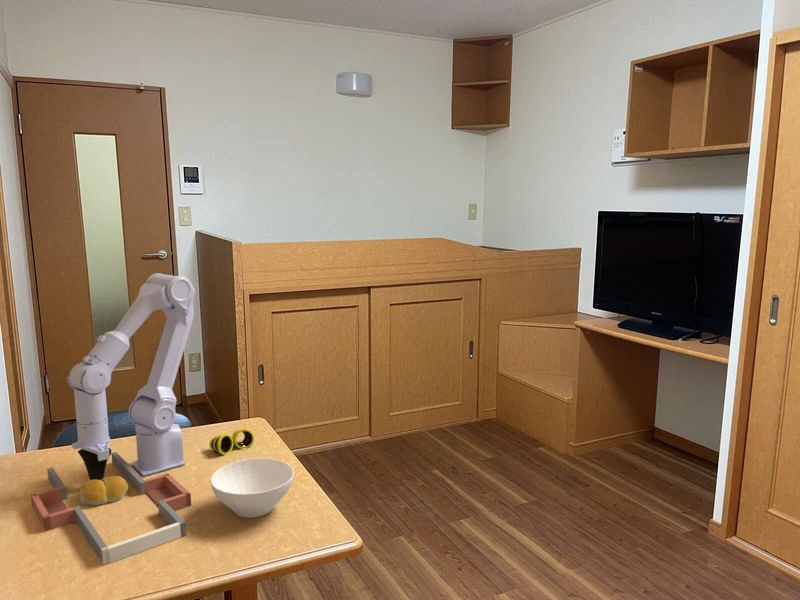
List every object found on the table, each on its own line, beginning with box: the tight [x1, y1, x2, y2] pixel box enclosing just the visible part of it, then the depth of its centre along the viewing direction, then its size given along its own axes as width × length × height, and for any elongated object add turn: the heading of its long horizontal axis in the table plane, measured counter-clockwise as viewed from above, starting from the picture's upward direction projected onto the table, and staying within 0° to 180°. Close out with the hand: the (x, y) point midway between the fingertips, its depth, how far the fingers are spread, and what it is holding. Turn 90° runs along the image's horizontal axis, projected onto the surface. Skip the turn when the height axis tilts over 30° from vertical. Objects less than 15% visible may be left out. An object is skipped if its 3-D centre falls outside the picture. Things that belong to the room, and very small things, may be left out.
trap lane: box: [30, 451, 192, 566], centre depth 119 cm, size 24×41×2 cm, turn 41°
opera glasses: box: [209, 428, 255, 456], centre depth 147 cm, size 10×5×5 cm, turn 133°
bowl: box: [210, 457, 295, 519], centre depth 118 cm, size 16×16×7 cm
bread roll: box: [78, 475, 129, 507], centre depth 123 cm, size 8×9×4 cm
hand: (96, 481), depth 126 cm, fingers closed
